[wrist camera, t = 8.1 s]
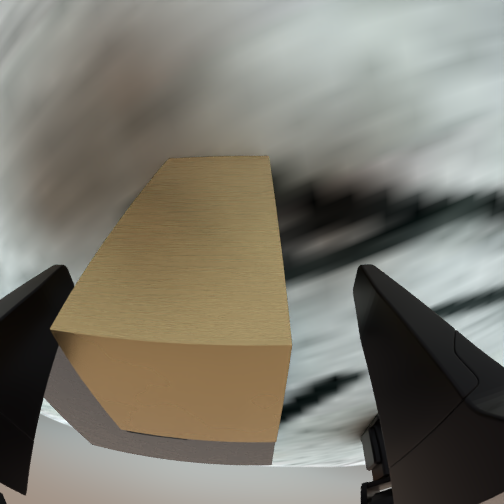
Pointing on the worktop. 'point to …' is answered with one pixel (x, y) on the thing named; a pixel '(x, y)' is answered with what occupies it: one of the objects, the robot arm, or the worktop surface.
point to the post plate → (112, 437)
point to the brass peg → (188, 307)
